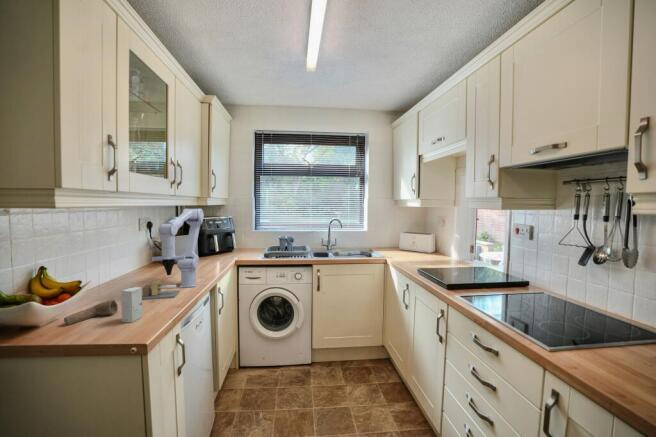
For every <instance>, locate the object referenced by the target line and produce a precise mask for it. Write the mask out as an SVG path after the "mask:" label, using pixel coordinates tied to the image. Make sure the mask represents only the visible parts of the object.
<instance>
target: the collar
mask: <svg viewBox="0 0 656 437" xmlns="http://www.w3.org/2000/svg"><path fill="white" fill-rule="evenodd" d="M151 285H152V296H154V295H158V294H159V293H160V292H162V289H158V286H162V280H160V279H159V280H158V279H157V280H154V281H153V282H151Z"/></svg>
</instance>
